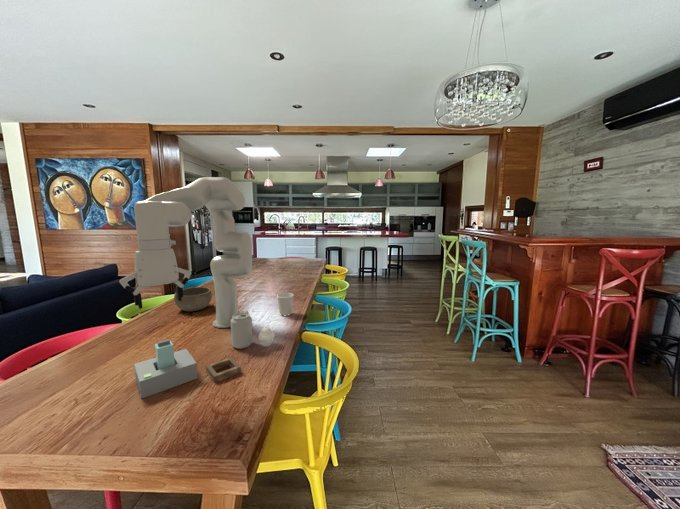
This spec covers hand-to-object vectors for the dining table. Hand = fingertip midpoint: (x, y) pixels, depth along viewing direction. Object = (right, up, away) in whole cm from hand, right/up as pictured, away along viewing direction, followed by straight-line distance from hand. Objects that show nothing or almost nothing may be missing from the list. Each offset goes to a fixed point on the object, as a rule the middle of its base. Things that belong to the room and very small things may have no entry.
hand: (160, 303), depth 79 cm
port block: (0, -23, +3) cm, 24 cm away
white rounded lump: (+24, -21, +25) cm, 41 cm away
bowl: (-26, -15, +66) cm, 72 cm away
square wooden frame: (+16, -23, +7) cm, 29 cm away
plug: (0, -22, +3) cm, 23 cm away
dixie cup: (+25, -16, +58) cm, 65 cm away
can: (+15, -21, +25) cm, 36 cm away
